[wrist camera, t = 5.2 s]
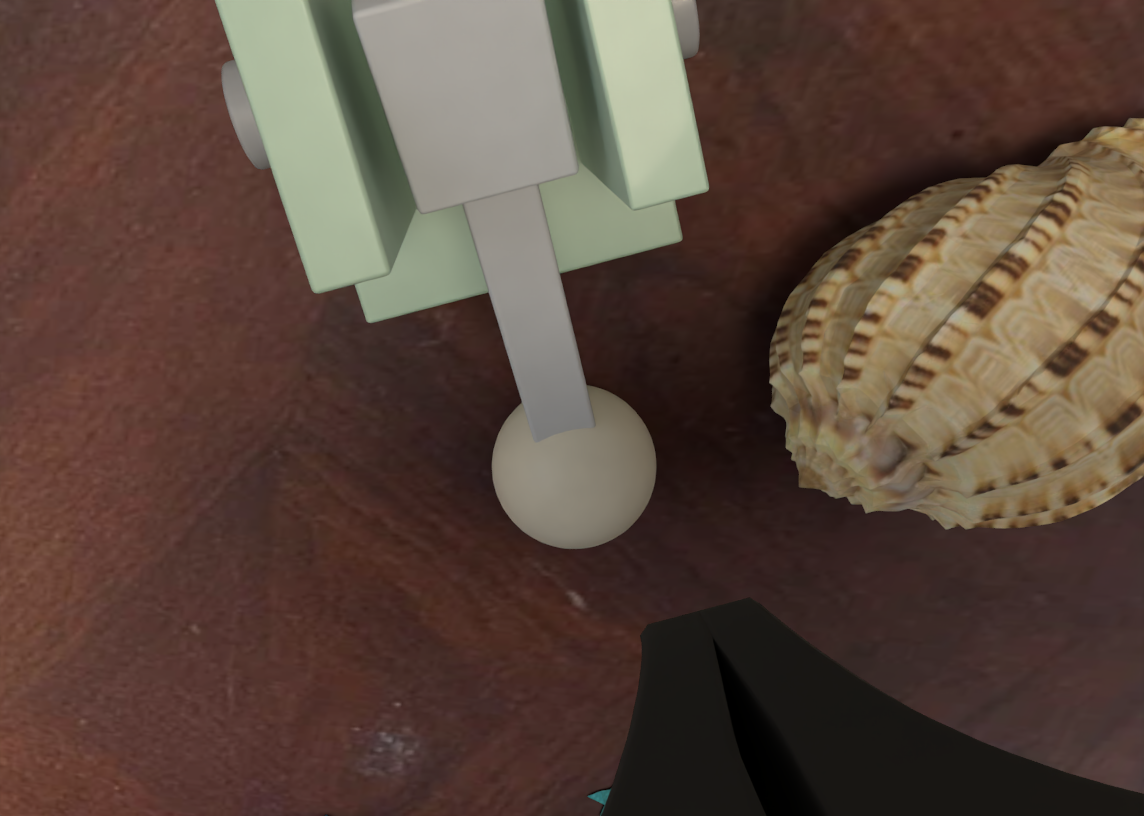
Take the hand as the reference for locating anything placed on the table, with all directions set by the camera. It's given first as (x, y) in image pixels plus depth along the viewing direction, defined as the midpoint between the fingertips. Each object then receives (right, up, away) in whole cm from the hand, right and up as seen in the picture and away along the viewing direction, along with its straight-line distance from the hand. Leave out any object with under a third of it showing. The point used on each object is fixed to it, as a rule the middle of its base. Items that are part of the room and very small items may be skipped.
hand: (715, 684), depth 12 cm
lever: (-3, +6, +6) cm, 9 cm away
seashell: (+7, +6, +9) cm, 13 cm away
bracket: (-4, +9, +7) cm, 12 cm away
